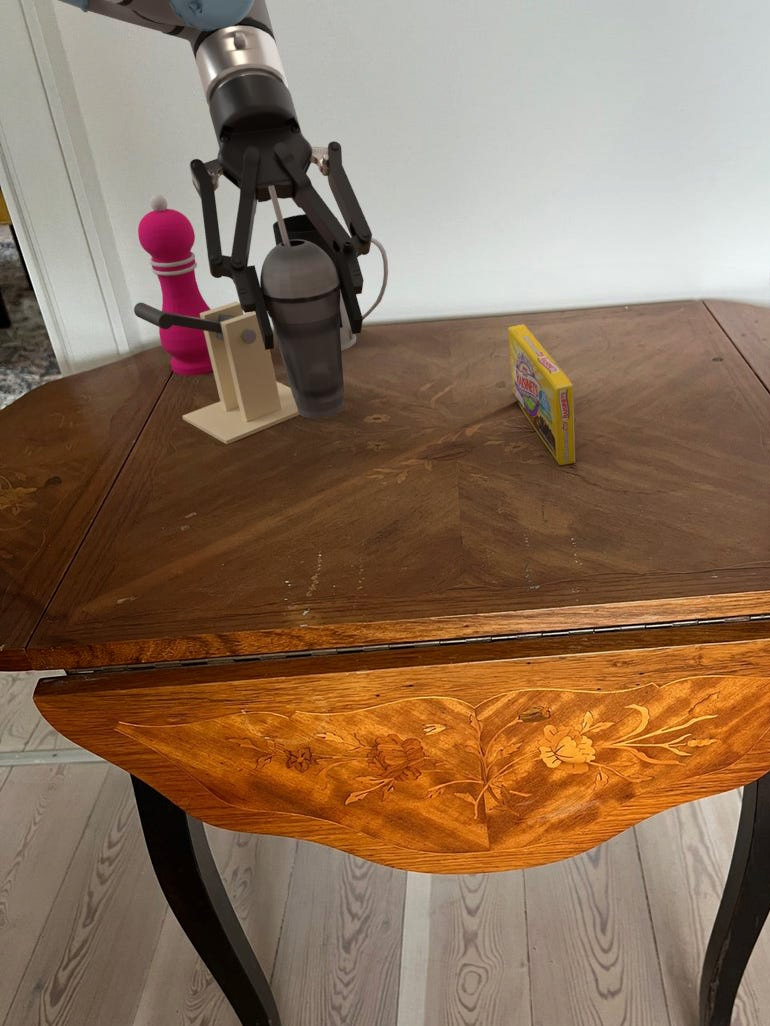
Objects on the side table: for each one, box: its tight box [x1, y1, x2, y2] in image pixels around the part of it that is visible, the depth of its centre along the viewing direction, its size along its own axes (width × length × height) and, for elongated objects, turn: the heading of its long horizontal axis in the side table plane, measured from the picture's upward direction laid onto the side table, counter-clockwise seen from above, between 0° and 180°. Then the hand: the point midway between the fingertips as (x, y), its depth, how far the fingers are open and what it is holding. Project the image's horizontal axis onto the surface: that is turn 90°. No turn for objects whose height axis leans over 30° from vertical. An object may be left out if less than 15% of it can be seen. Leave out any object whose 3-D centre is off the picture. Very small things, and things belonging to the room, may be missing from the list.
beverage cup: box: [259, 185, 345, 420], centre depth 86 cm, size 7×7×20 cm
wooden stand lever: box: [133, 302, 235, 341], centre depth 95 cm, size 11×5×2 cm, turn 134°
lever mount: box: [181, 301, 301, 445], centre depth 100 cm, size 12×9×12 cm
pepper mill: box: [137, 194, 213, 376], centre depth 109 cm, size 7×7×20 cm
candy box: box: [508, 324, 576, 466], centre depth 96 cm, size 16×2×8 cm, turn 14°
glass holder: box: [272, 213, 389, 352], centre depth 113 cm, size 9×14×15 cm, turn 70°
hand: (313, 334), depth 84 cm, fingers closed on beverage cup, 7 cm apart
